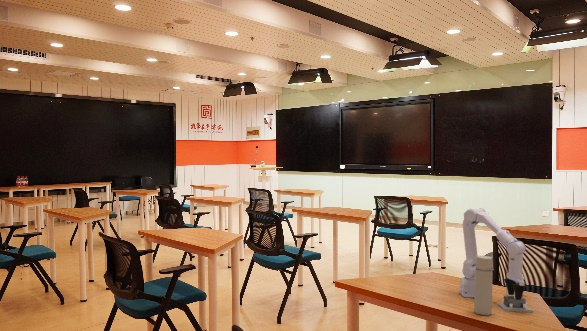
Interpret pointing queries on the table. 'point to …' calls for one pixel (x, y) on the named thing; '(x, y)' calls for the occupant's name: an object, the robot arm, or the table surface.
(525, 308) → the grey mounting plate
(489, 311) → the water bottle
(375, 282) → the table surface
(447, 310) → the table surface
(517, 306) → the block
